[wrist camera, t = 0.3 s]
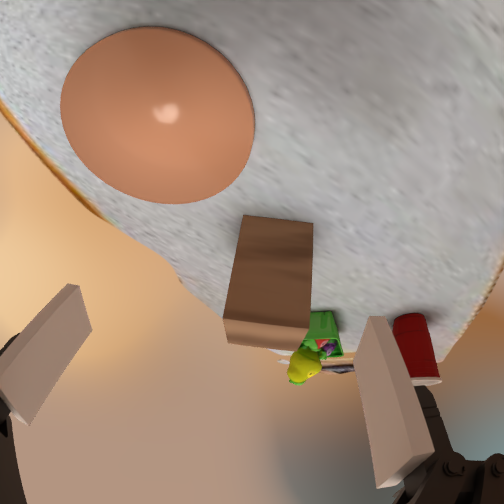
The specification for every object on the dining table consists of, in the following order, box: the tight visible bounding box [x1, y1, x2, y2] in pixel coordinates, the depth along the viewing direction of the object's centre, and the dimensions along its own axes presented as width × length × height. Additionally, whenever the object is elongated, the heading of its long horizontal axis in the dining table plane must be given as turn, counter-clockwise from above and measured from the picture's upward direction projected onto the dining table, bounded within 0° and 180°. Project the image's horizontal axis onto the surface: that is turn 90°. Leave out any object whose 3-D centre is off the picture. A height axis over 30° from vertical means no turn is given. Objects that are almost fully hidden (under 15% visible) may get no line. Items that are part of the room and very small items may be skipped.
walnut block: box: [223, 215, 313, 351], centre depth 29 cm, size 7×7×11 cm
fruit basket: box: [287, 311, 344, 385], centre depth 47 cm, size 11×9×11 cm
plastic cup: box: [392, 313, 442, 386], centre depth 42 cm, size 11×11×12 cm
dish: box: [60, 26, 255, 204], centre depth 21 cm, size 17×17×1 cm
